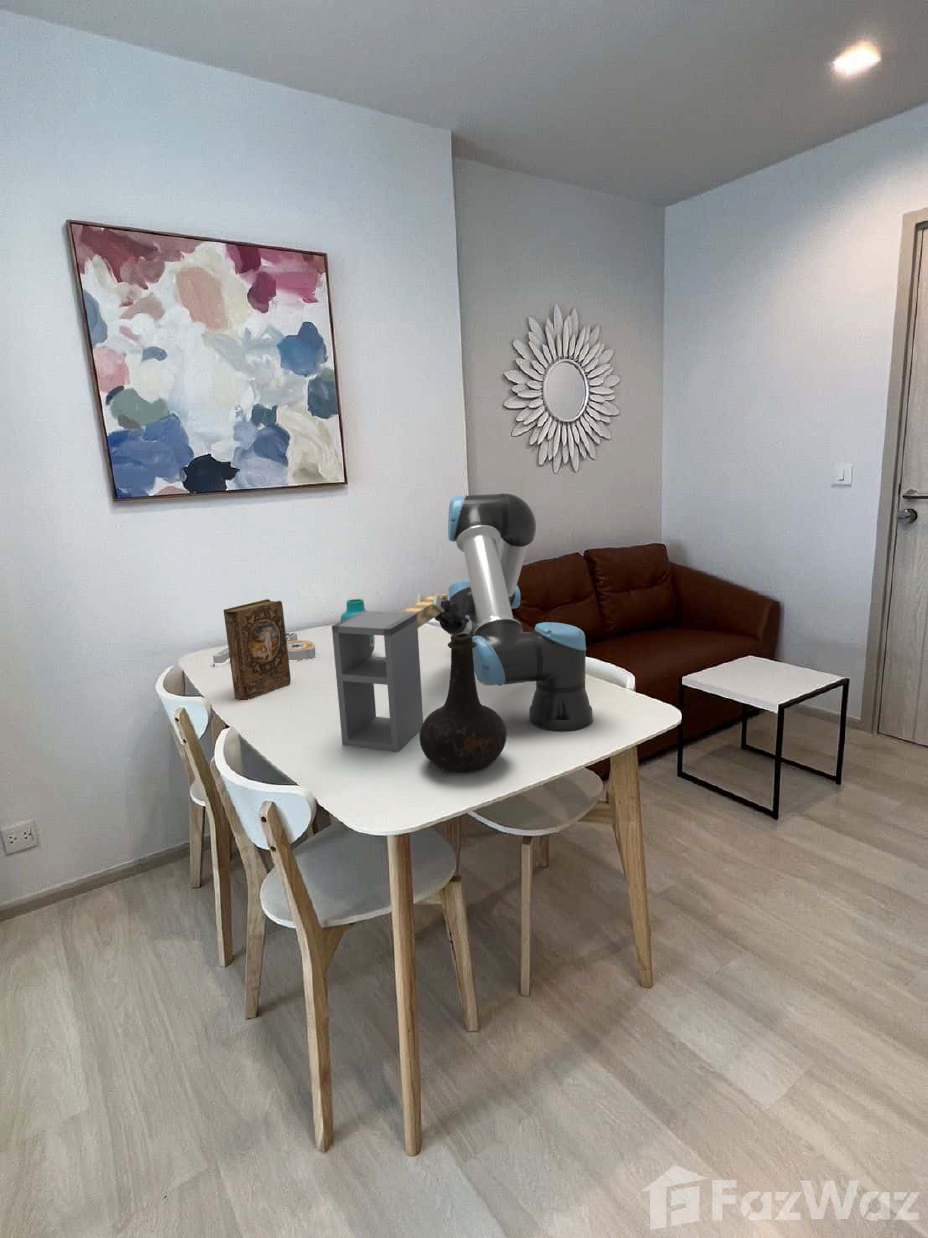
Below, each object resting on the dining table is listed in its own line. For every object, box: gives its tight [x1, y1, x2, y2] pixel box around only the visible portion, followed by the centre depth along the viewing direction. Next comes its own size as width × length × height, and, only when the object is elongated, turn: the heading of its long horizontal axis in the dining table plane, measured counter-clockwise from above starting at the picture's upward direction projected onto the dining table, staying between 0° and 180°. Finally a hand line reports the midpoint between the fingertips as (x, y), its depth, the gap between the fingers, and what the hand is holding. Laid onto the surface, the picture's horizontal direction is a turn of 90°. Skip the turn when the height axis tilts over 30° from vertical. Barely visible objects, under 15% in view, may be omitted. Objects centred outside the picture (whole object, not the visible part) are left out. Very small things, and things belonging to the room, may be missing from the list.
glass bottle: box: [419, 633, 508, 774], centre depth 137 cm, size 18×18×28 cm
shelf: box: [331, 610, 424, 753], centre depth 153 cm, size 14×14×28 cm
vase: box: [340, 598, 376, 655], centre depth 215 cm, size 11×11×19 cm
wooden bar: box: [400, 593, 449, 629], centre depth 172 cm, size 30×4×4 cm, turn 160°
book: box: [223, 598, 292, 701], centre depth 187 cm, size 16×6×25 cm, turn 145°
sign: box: [212, 631, 317, 664], centre depth 225 cm, size 30×4×30 cm
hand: (427, 599), depth 177 cm, fingers closed on wooden bar, 4 cm apart
